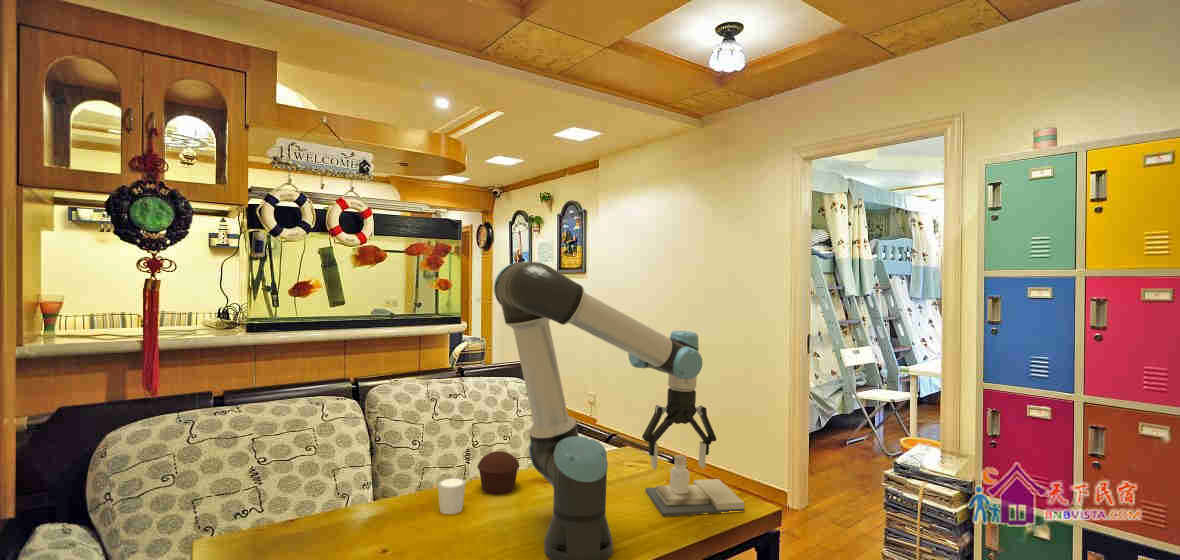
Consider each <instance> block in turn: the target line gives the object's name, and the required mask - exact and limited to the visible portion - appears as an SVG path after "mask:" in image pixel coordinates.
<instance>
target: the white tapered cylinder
mask: <svg viewBox="0 0 1180 560" xmlns="http://www.w3.org/2000/svg"><path fill="white" fill-rule="evenodd" d="M437 487H438V488H437V489H438V503H439V504H438V505H439V511H440V513H441V514H444V515H456V514H458V513H461V512H462V511H463V507H464V501H465V499H464V497H465V493H466V492H465V489H466V479H463V478H459V477H449V478H444V479H441V480H440V481H438V483H437Z"/></svg>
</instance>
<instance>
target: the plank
mask: <svg viewBox="0 0 1180 560" xmlns="http://www.w3.org/2000/svg"><path fill="white" fill-rule="evenodd" d="M655 488H656V492H657V494H658V495H659V496H660V498H661V499H662V500H663V502H664V503H665V504H666V505H697V504H710V498H709V497H708V496H707V495H706V494H705V493H704V491H703V490H702V489H701V488H700V487H699V486H698V485H694V484H689V491H688V493H686V494H675V493H674V492H673V491H671V490H670V484H669V485H655Z"/></svg>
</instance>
